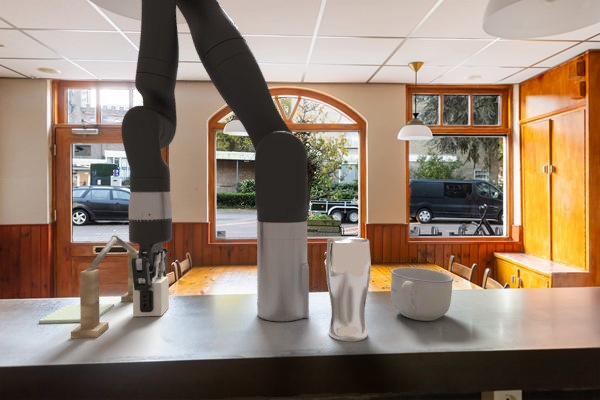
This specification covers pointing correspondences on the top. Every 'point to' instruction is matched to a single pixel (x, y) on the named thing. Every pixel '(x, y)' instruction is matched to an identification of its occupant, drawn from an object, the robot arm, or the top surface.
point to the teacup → (421, 292)
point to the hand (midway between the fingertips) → (151, 306)
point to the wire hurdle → (91, 293)
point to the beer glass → (348, 287)
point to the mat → (71, 314)
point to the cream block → (159, 298)
